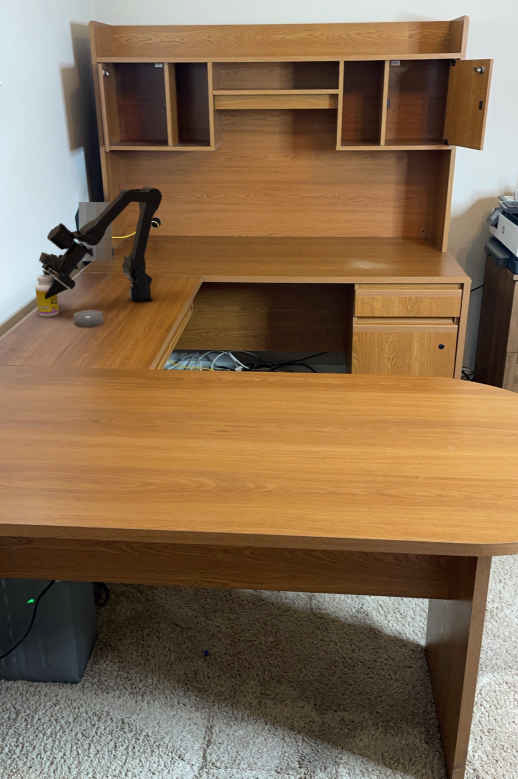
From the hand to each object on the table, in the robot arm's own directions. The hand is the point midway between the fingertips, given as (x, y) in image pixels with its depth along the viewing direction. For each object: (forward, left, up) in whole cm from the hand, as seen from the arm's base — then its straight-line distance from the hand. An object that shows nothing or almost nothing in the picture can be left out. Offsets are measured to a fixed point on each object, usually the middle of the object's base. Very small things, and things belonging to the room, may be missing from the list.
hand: (42, 295), depth 234 cm
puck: (-11, +15, -7) cm, 20 cm away
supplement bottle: (-1, 0, -7) cm, 7 cm away
